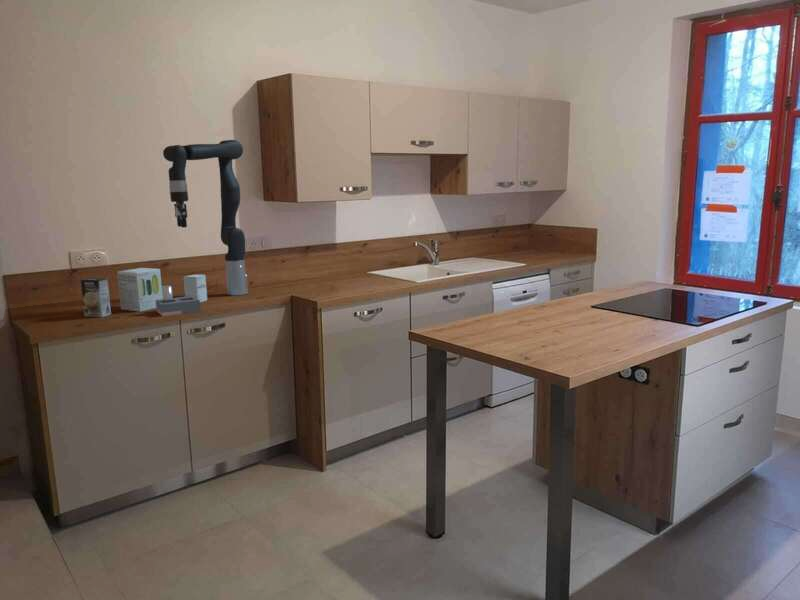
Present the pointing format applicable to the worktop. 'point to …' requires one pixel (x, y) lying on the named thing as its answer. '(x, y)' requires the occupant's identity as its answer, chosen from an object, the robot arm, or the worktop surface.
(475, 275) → the worktop surface
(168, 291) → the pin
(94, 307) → the coffee box
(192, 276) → the supplement box
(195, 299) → the socket block
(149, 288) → the supplement box
